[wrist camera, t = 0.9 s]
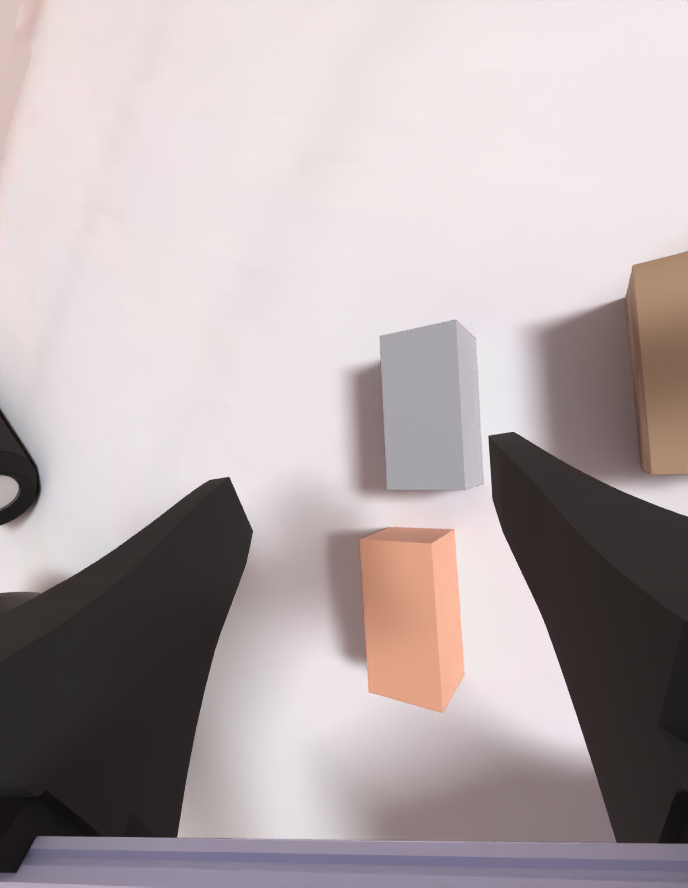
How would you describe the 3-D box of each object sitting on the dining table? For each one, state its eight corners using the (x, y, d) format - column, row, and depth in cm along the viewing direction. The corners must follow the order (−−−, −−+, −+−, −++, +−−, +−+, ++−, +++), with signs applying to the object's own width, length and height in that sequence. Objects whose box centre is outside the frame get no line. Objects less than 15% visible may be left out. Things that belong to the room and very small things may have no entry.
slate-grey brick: (484, 483, 22) (465, 490, 19) (415, 483, 24) (387, 489, 21) (476, 338, 22) (456, 319, 19) (409, 351, 24) (379, 336, 21)
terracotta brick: (465, 672, 22) (442, 713, 19) (399, 657, 25) (368, 692, 21) (455, 528, 23) (431, 543, 19) (391, 526, 25) (359, 539, 22)
